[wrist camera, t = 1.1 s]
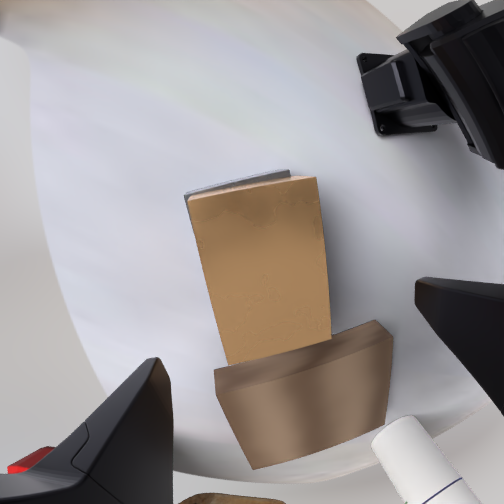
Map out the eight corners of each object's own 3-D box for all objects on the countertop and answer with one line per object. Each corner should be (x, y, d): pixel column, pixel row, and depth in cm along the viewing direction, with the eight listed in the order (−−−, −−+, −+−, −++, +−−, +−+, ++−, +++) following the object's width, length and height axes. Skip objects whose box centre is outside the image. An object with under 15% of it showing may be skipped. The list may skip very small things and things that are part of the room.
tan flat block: (297, 175, 16) (316, 176, 13) (314, 315, 19) (331, 338, 16) (190, 195, 15) (187, 200, 12) (224, 337, 18) (228, 365, 15)
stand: (375, 319, 23) (393, 336, 20) (372, 407, 26) (384, 424, 23) (213, 369, 22) (215, 394, 19) (248, 448, 25) (252, 469, 22)
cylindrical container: (423, 409, 29) (519, 529, 5) (404, 442, 31) (480, 554, 7) (381, 423, 28) (477, 568, 4) (364, 455, 30) (437, 586, 6)
